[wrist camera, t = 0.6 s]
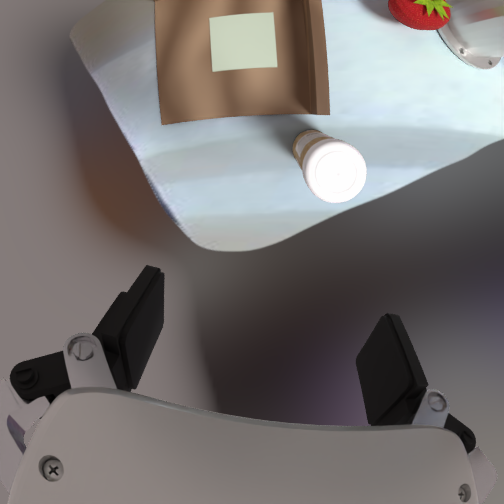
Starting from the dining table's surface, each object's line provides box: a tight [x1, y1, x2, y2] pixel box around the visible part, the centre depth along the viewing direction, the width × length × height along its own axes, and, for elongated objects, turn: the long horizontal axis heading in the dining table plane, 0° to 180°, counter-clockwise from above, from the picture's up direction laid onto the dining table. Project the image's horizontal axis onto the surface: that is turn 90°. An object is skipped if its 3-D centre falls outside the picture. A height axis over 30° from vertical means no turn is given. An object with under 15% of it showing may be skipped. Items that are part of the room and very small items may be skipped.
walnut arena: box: [154, 0, 330, 125], centre depth 22 cm, size 18×18×6 cm
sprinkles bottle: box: [293, 130, 367, 203], centre depth 24 cm, size 5×5×13 cm
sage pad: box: [209, 12, 277, 72], centre depth 24 cm, size 7×7×1 cm
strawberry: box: [388, 0, 453, 30], centre depth 16 cm, size 6×8×10 cm
